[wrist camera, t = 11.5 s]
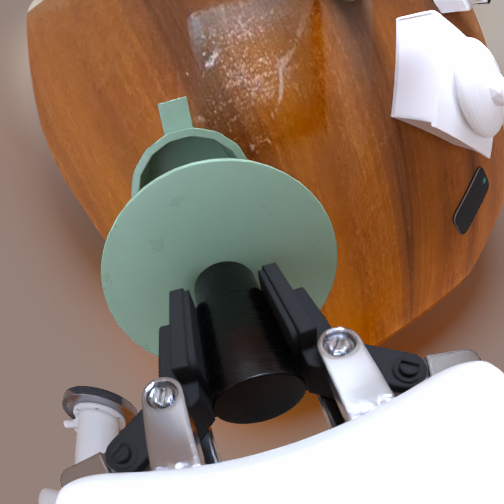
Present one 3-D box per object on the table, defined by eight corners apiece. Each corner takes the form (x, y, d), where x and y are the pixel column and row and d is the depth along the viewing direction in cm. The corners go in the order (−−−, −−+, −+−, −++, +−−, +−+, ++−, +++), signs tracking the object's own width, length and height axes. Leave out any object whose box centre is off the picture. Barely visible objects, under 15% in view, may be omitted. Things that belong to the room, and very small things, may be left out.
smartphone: (490, 185, 42) (463, 237, 46) (487, 184, 43) (460, 235, 47) (482, 164, 39) (454, 220, 42) (479, 163, 39) (451, 218, 43)
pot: (165, 246, 32) (163, 284, 25) (129, 120, 25) (109, 119, 17) (247, 224, 34) (267, 255, 26) (221, 95, 26) (236, 85, 19)
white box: (459, 62, 28) (527, 69, 14) (452, 147, 36) (523, 172, 22) (395, 17, 24) (477, 4, 10) (389, 119, 31) (481, 138, 18)
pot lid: (157, 370, 15) (164, 474, 9) (70, 200, 10) (-22, 297, 3) (327, 321, 17) (386, 407, 10) (319, 135, 11) (449, 169, 5)
